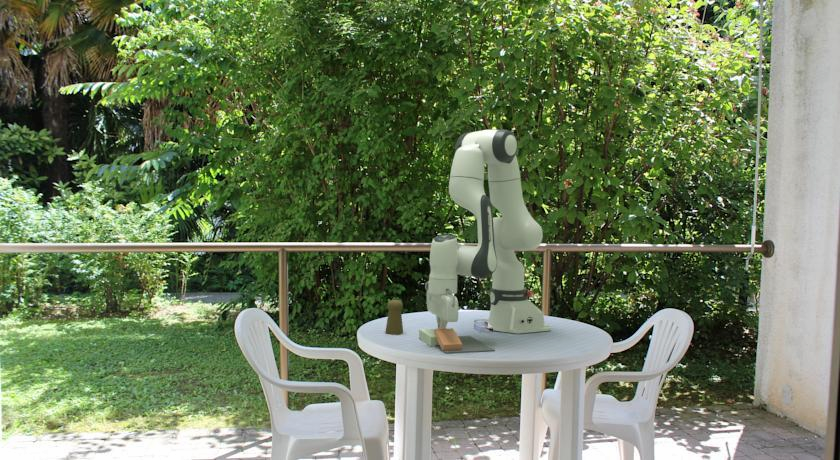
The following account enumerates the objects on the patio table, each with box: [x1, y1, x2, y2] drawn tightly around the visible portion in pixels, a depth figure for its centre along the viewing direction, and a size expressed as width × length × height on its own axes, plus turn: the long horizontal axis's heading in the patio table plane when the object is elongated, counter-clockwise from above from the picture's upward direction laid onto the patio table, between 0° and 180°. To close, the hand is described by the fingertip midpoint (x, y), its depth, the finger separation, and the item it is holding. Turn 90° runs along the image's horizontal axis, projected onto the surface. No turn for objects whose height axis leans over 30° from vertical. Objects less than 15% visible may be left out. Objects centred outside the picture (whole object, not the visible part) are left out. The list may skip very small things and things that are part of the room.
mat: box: [435, 335, 496, 355], centre depth 225 cm, size 16×21×1 cm
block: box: [434, 327, 462, 350], centre depth 219 cm, size 6×9×2 cm, turn 17°
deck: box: [418, 328, 439, 348], centre depth 228 cm, size 9×12×3 cm
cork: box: [385, 299, 404, 336], centre depth 240 cm, size 6×6×11 cm
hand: (441, 331), depth 224 cm, fingers closed
